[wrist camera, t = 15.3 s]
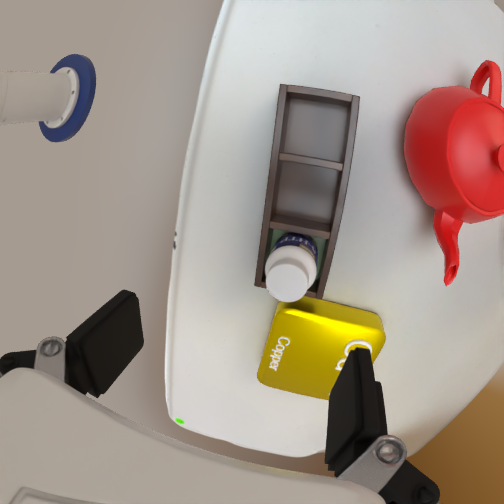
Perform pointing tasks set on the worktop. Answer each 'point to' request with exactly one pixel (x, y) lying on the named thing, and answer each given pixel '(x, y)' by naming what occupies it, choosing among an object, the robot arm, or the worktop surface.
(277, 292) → the pill bottle
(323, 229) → the rack
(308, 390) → the element tile
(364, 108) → the worktop surface
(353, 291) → the worktop surface
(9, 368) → the robot arm
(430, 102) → the teapot
